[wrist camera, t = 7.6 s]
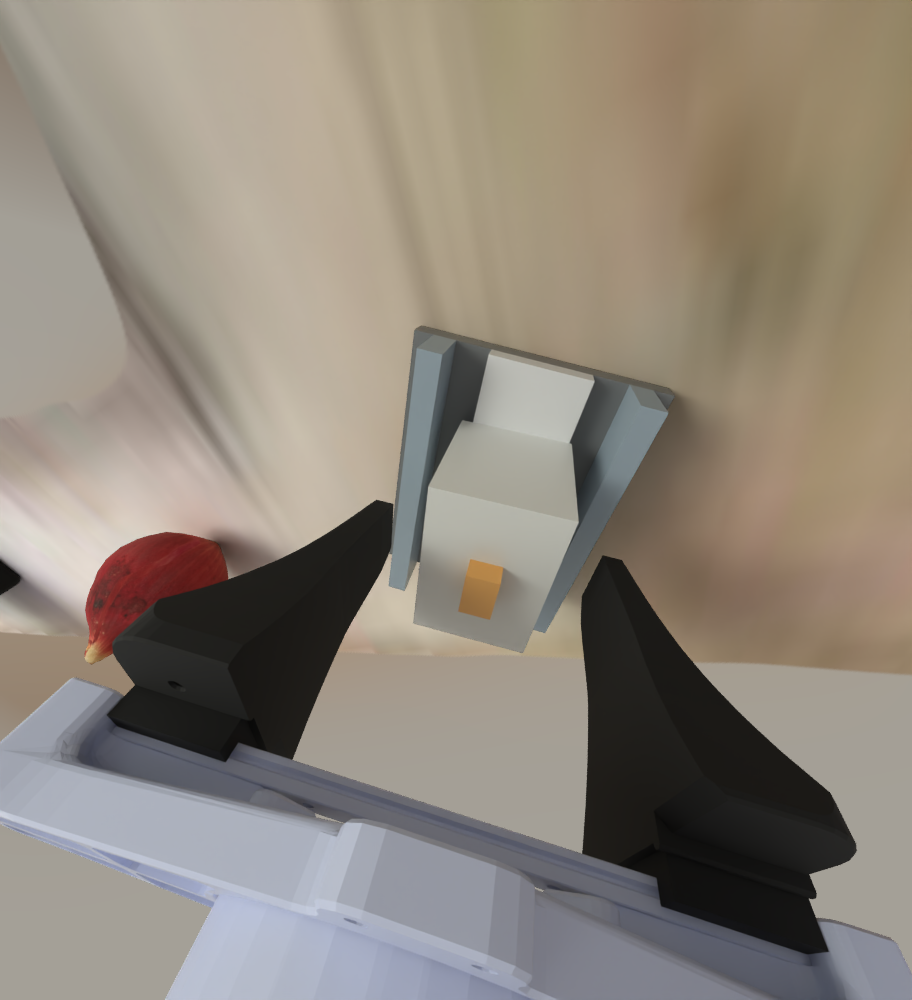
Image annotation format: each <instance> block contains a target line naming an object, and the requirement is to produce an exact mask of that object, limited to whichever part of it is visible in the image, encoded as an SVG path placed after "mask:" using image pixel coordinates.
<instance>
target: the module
mask: <svg viewBox="0 0 912 1000" xmlns="http://www.w3.org/2000/svg"><path fill="white" fill-rule="evenodd" d="M578 523H579V520H578V509H577V497H576V486H575V475H574V464H573V452H572V444H570V443H566V442H561V441H556V440H552V439H547V438H542V437H538V436H533V435H529V434H524V433H519V432H515V431H510V430H506V429H501V428H496V427H492V426H487V425H482V424H478V423H473V422H469V421H464V420H462V422H461V424H460V425H459V427H458V429H457V431H456V433H455V435H454V437H453V439H452V441H451V443H450V445H449V447H448V449H447V451H446V453H445V455H444V457H443V459H442V461H441V463H440V465H439V467H438V468H437V470H436V472H435V474H434V476H433V478H432V480H431V482H430V484H429V486H428V493H427V502H426V511H425V521H424V530H423V539H422V548H421V557H420V566H419V576H418V585H417V594H416V603H415V612H414V621H413V623H414V624H417V625H421V626H425V627H428V628H432V629H436V630H439V631H443V632H447V633H450V634H454V635H458V636H461V637H465V638H469V639H472V640H476V641H480V642H483V643H487V644H491V645H494V646H498V647H502V648H505V649H509V650H513V651H516V652H520V653H523V652H524V650H525V647H526V645H527V642H528V640H529V638H530V635H531V633H532V631H533V628H534V626H535V624H536V621H537V619H538V617H539V614H540V612H541V610H542V607H543V605H544V603H545V600H546V598H547V595H548V593H549V591H550V588H551V586H552V584H553V581H554V579H555V577H556V574H557V572H558V570H559V567H560V565H561V563H562V560H563V558H564V555H565V553H566V551H567V548H568V546H569V544H570V541H571V539H572V537H573V534H574V532H575V530H576V527H577V525H578Z"/></svg>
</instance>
